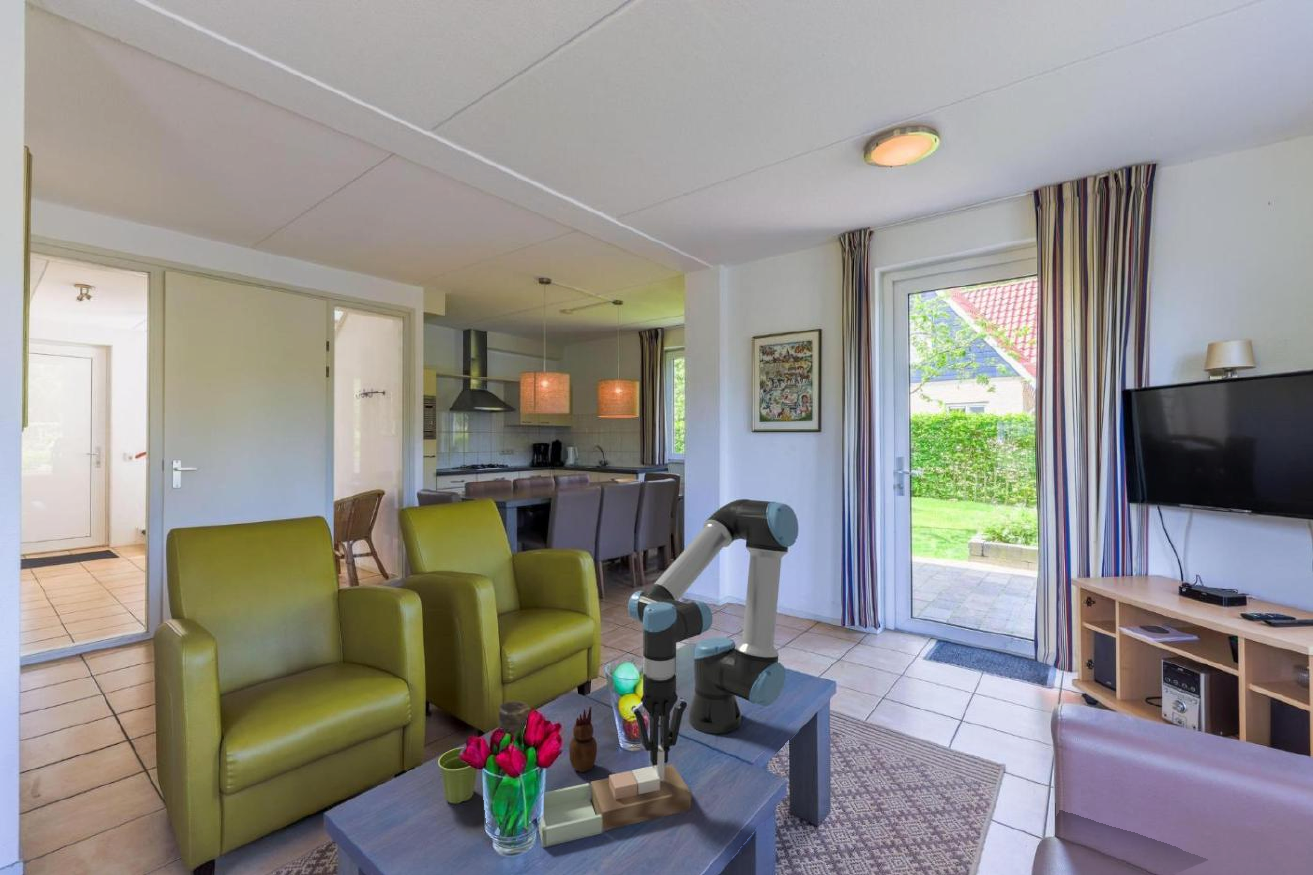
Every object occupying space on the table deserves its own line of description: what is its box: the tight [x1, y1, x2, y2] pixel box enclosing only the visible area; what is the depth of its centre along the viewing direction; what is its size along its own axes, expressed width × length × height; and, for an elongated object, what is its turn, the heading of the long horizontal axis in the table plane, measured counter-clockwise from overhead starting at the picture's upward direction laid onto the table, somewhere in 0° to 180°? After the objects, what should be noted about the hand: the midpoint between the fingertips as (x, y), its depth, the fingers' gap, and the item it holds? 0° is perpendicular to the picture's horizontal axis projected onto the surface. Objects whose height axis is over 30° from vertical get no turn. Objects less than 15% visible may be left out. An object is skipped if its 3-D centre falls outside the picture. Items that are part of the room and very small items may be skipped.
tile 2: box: [631, 765, 660, 794], centre depth 127 cm, size 5×5×2 cm
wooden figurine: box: [568, 706, 598, 773], centre depth 141 cm, size 7×6×15 cm
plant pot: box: [437, 746, 478, 804], centre depth 130 cm, size 9×9×9 cm
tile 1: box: [608, 770, 637, 800], centre depth 125 cm, size 5×5×2 cm
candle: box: [498, 701, 531, 735], centre depth 131 cm, size 8×7×20 cm
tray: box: [538, 782, 603, 848], centre depth 121 cm, size 12×12×4 cm
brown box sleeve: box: [590, 764, 692, 832], centre depth 127 cm, size 20×11×4 cm, turn 110°
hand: (659, 777), depth 128 cm, fingers closed
